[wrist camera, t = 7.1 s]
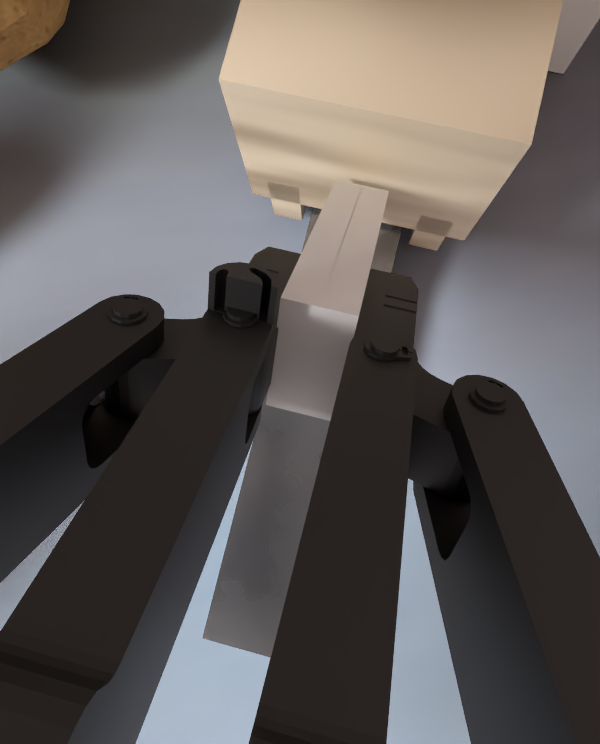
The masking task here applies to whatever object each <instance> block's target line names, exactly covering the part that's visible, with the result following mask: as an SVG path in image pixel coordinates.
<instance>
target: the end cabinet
mask: <svg viewBox="0 0 600 744" xmlns="http://www.w3.org/2000/svg"><path fill="white" fill-rule="evenodd" d="M599 19H600V0H563V3H562V8H561V13H560V17H559V22H558V26H557V31H556V35H555V40H554V45H553V49H552V54H551V58H550V63H549V67H548V71H551V72H556V73H561V74H564V72H565V71H566V69H567V68H568V66H569V65H570V63H571V62H572V60H573V58H574V57H575V55H576V54H577V52H578V51H579V49H580V48H581V46H582V45H583V43H584V42H585V40H586V39H587V37H588V35H589V34H590V32H591V31H592V29H593V28H594V26H595V25H596V23H597V22H598V20H599Z"/></svg>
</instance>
